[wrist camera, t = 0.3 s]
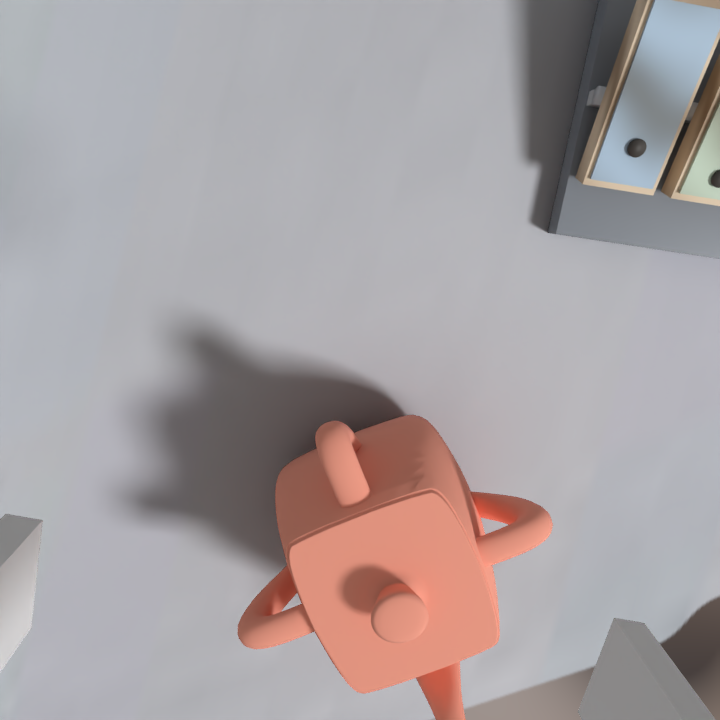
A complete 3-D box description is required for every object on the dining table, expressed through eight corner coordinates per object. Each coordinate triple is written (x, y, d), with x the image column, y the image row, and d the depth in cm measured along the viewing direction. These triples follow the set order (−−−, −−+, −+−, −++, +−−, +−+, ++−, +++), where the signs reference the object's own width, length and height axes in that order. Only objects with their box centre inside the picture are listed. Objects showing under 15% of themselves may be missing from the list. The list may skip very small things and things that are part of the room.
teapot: (316, 366, 41) (308, 441, 28) (524, 439, 43) (605, 539, 30) (240, 570, 45) (203, 717, 32) (435, 628, 47) (474, 788, 34)
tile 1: (641, -14, 31) (655, -14, 30) (720, 1, 32) (738, 2, 30) (575, 177, 37) (584, 186, 35) (643, 188, 37) (655, 197, 35)
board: (608, -44, 35) (634, -67, 32) (859, 5, 36) (907, -13, 33) (547, 232, 39) (565, 235, 36) (776, 267, 40) (812, 272, 37)
